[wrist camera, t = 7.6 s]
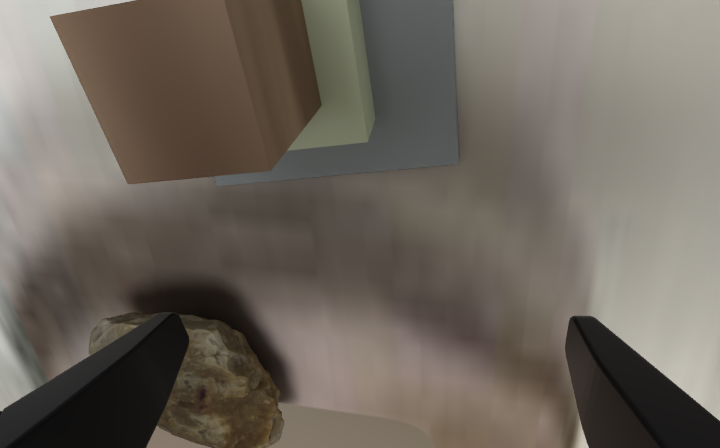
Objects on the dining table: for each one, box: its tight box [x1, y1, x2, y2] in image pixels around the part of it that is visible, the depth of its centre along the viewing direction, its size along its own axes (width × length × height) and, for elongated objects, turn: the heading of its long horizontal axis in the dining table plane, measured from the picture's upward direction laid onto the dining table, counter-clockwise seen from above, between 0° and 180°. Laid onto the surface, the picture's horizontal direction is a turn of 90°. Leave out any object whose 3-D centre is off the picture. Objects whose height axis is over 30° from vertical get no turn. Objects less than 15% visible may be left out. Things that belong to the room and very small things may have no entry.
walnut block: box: [50, 0, 322, 184], centre depth 12 cm, size 4×4×6 cm
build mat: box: [214, 0, 459, 186], centre depth 17 cm, size 12×12×1 cm
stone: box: [89, 312, 284, 448], centre depth 26 cm, size 13×8×8 cm
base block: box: [287, 0, 375, 151], centre depth 16 cm, size 7×7×3 cm
